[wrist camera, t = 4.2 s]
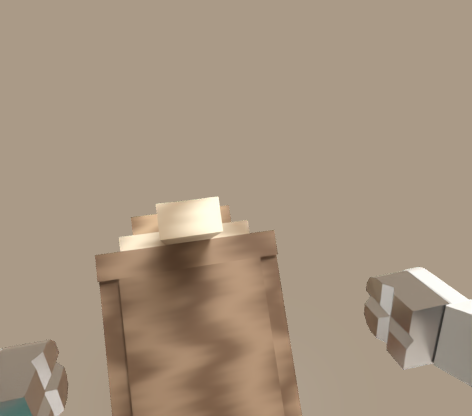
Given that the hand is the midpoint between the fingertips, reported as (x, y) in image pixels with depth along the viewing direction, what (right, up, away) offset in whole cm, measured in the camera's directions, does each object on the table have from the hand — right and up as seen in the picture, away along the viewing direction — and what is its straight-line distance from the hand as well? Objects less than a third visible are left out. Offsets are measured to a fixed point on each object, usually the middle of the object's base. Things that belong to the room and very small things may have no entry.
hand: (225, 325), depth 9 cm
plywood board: (-4, -1, +24) cm, 24 cm away
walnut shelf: (-1, -27, +24) cm, 36 cm away
